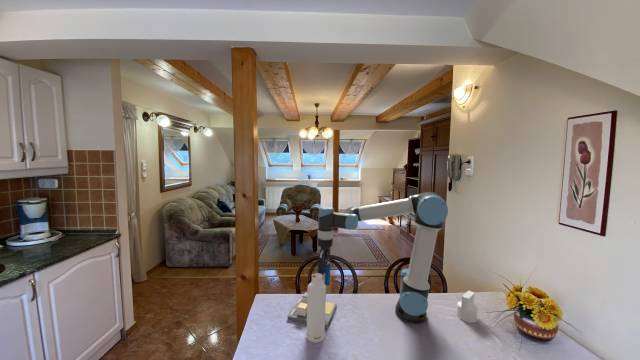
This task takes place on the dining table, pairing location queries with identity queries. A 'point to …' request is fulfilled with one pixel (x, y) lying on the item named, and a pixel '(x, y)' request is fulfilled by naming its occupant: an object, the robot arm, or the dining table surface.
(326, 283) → the beverage can
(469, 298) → the cylinder with rectangular tab
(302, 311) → the toggle
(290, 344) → the dining table surface
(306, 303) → the toggle
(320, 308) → the bottle
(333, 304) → the breaker panel
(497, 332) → the dining table surface
